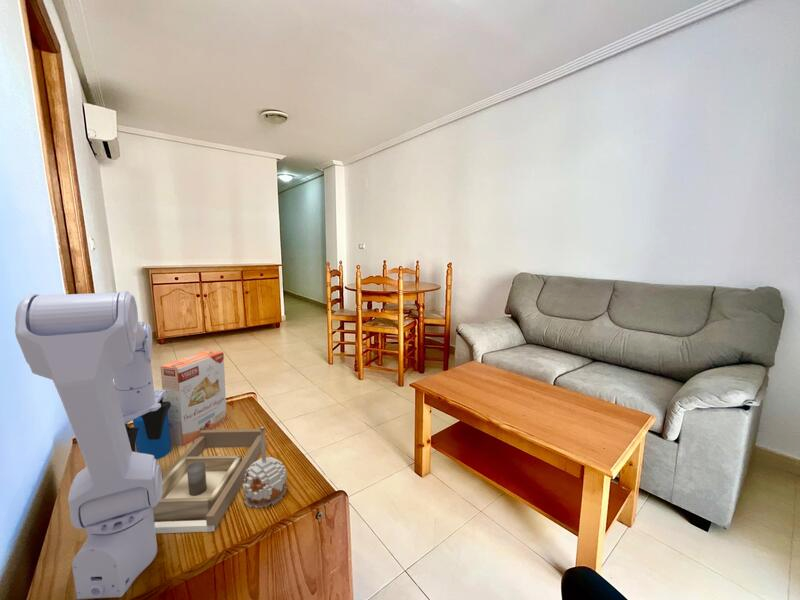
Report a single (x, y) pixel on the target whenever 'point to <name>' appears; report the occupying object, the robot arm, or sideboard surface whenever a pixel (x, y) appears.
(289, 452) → the sideboard surface
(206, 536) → the sideboard surface
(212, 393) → the cracker box
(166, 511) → the beige shallow open box
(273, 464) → the decorative ornament
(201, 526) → the bay
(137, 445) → the beverage can
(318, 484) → the sideboard surface
